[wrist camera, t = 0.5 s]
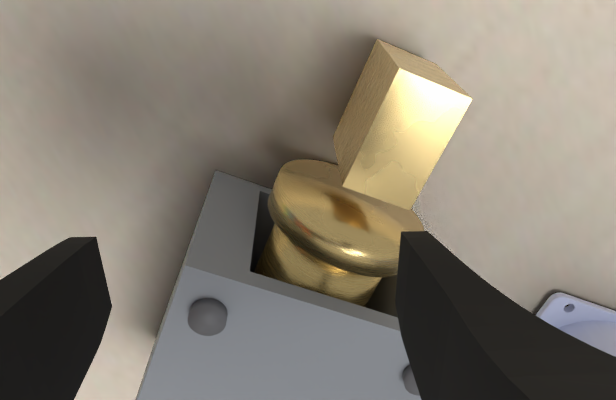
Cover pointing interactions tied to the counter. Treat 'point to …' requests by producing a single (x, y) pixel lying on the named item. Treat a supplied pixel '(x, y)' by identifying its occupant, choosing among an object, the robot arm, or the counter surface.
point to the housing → (267, 322)
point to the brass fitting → (363, 180)
